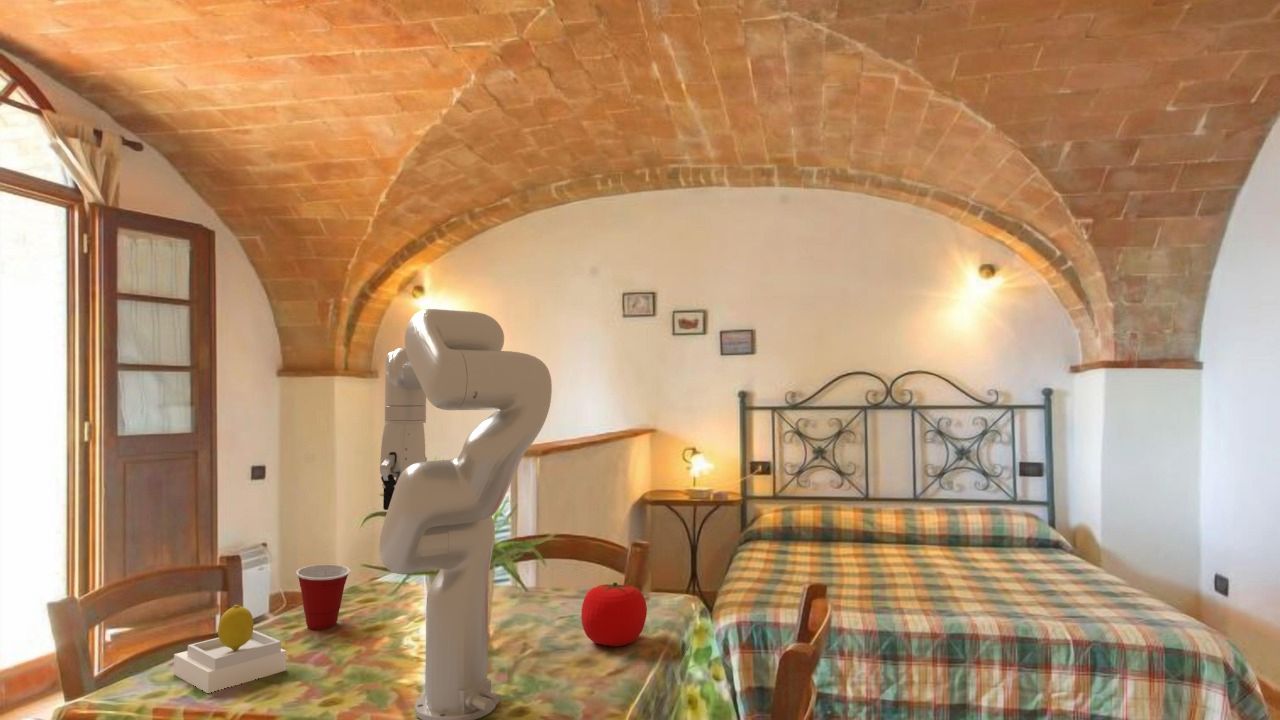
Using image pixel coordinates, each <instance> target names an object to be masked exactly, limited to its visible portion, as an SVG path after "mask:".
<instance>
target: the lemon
mask: <svg viewBox="0 0 1280 720" xmlns="http://www.w3.org/2000/svg"><path fill="white" fill-rule="evenodd" d="M254 626H255V625H254V617H253V615H252V613H251V611H250V609H248V608H246V607H244V606H240V605H239V604H234V605H233V606H232V607H231V608H228V609H227V610H226V611H225V612H223V614H222V615H221V617H220V619H219V623H218V626H217V628H218V629H217V635H218V638H219V639H220V641H221V643H222V644H223V645H224V646H226V647H229V648H231V649H232V650H233V651H236V650H238V649H239V648H240V647H241V646H242V645H244V644H246V643H247V642H248V640H249V639H250V638H251V636H252V633H253V630H254Z"/></svg>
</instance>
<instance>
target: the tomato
mask: <svg viewBox="0 0 1280 720" xmlns="http://www.w3.org/2000/svg"><path fill="white" fill-rule="evenodd" d="M647 612H648V607H647V602H646V599H645V596H644V594H643V592H642V591H641V590H640V589H639V588H637V587H635V586H634V585H629V584H618V582H613V583H611V584H608V583H607V584H600V585H596V586H594V587H591V589H590V590H589V591H587V593H586V595H585V596H584V598H583V601H582V605H581V615H580V616H581V617H580V618H581V625H582V628H583V631H584V633H585V635H586V637H587V638H588V639H589V640H590V641H592V642H594V643H596V644H598V645H601V644H602V645H603V646H607V645H609V646H608V647H618V646H617V645H623V646H625V645H624V644H626V645H629V644H628V643H630V644H632V643H633V642H634V641H636V640H637V639H638V638H639V636H640V635H641V633H642V632H643V629H644V627H645V624H646V619H647V614H648V613H647ZM631 642H632V643H631Z"/></svg>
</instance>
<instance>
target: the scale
mask: <svg viewBox="0 0 1280 720" xmlns="http://www.w3.org/2000/svg"><path fill="white" fill-rule="evenodd" d="M285 671H287V650H286V649H283V648H282V641H281V640H279V639H276V638H274V637H271V636H269V635H267V634H264V633H261V632H260V631H257V630H254V629H253V633H252V636H251V638H250V639H249V640H248V642H247V643H246V644H244V645H242V646H241V647H240V648H239V649H238V650H236V651H233V650H232V649H231V648H229V647H226V646H224V645H223V644H222V643H221V641H220V639H219V637H216V638H215V637H214V638H212V639H207V640H204V641H200V642H195V643H191V644H187V650H185V651H182V652H178V653H174V654H173V675H174V676H176V677H178V678H179V679H181V680H183V681H185V682H186V683H187V684H189V685H192V686H193V685H194V687H195V686H196V687H195V688H197V689H198V690H201V691H202V690H203V691H202V692H205V693H206V694H207V693H209V694H211V692H212V693H215V692H214V691H216V692H218V691H217V690H219V691H222V690H225V689H224V688H226V689H228V688H227V687H229V688H231V686H232V687H236V686H238V685H242V684H245V683H246V684H247V683H248V682H252V681H256V680H259V679H261V678H265V677H269V676H272V675H275V674H279V673H281V672H285ZM258 678H259V679H258ZM255 679H256V680H255ZM241 683H242V684H241ZM235 685H236V686H235ZM221 689H222V690H221Z"/></svg>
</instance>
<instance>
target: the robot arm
mask: <svg viewBox="0 0 1280 720" xmlns="http://www.w3.org/2000/svg"><path fill="white" fill-rule="evenodd" d="M504 344H505V333H504V330H503V328H502V327H501V325H500V323H499V322H498V321H497V320H496V318H493V317H492V316H490V315H489V314H486V313H482V312H477V311H470V310H469V311H467V310H464V311H463V310H452V309H438V308H426V309H422V310H420V311H418V312H416V313H415V314H414V315H413V316H412V317H411V318H410V320H409V321H408V323H407V325H406V329H405V333H404V347H399V348H396V349H395V350H393V351H389V352H388V353H387V355H386V357H385V366H384V367H385V368H384V369H385V373H384V375H385V379H384V381H385V383H384V384H385V385H384V426H383V430H382V431H383V432H382V437H381V446H380V462H379V465H380V466H379V474H380V475H381V477H380V479H381V481H382V485H381V486H382V489H383V502H382V504H383V506H382V507H383V508H382V509H383V510H384V511H386V514H385V518H384V519H383V524H382V527H381V531H380V536H379V547H378V548H379V549H378V550H379V556H380V559H381V562H382V564H383V566H384V567H385V568H386V569H387V570H388V571H389V572H391V573H393V574H396V575H398V574H399V575H401V574H402V575H406V574H414V573H420V572H428V571H429V572H430V571H435V570H438V573H437V574H436V576H435V578H434V579H433V581H432V583H431V584H430V586H429V589H428V592H427V596H426V609H425V610H426V613H425V616H426V617H425V679H424V680H425V682H424V683H425V686H424V689H425V690H424V691H425V692H424V694H422V695H421V696H419V697H418V699H416V701H415V703H414V714H415V716H416V717H417V718H418V719H420V720H477V719H478V720H479V719H480V718H482V717H485V716H488V715H489V714H491V713H492V712H493V710H495V708H496V707H497V705H498V704H499V703H500V701H501V696H500V694H498V693H496V692H495V691H494V690H492V680H491V679H489V678H488V656H489V655H488V652H489V651H488V645H489V643H488V639H489V637H488V634H489V633H488V632H489V581H490V579H489V578H490V570H491V569H490V568H491V561H492V555H493V551H494V544H495V537H496V534H495V533H496V528H495V527H496V525H495V521H494V518H493V516H494V515H495V514H496V513H497V512H498V510H499V509H500V507H501V506H502V504H503V501H504V499H505V498H506V495H507V493H508V491H509V488H510V485H511V484H512V481H513V480H514V476H515V474H516V473H517V470H518V468H519V465H520V463H521V461H522V459H523V458H524V456H525V454H526V453H527V451H528V450H529V448H530V447H531V446H532V445H533V443H534V442H535V440H536V438H537V437H538V436H539V433H540V432H541V430H542V429H543V426H544V424H545V422H546V420H547V417H548V415H549V411H550V408H551V403H552V391H553V389H552V388H553V386H552V385H553V384H552V383H553V382H552V376H551V373H550V371H549V368H548V367H547V365H546V363H544V361H542V360H541V359H539V358H538V357H536V356H534V355H531V354H528V353H524V352H518V351H509V350H503V347H504ZM427 400H428V402H429V403H430V404H431V405H432V406H434V407H435V408H437V409H440V410H444V411H490V410H491V411H492V410H494V413H492V414H491V415H489V416H487V418H485V419H484V420H482V421H481V422H480V423H479V424H478V425H477V426H475V427H474V429H473V430H472V431H471V432H470V433H469V435H468V436H467V438H466V439H465V441H464V443H463V447H462V449H461V452H460V454H459V455H458V456H457V457H455V458H451V459H444V460H443V459H442V460H428V459H427V457H426V438H425V437H426V434H425V426H424V424H426V423H427V420H426V419H427ZM427 460H428V461H427Z"/></svg>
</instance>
